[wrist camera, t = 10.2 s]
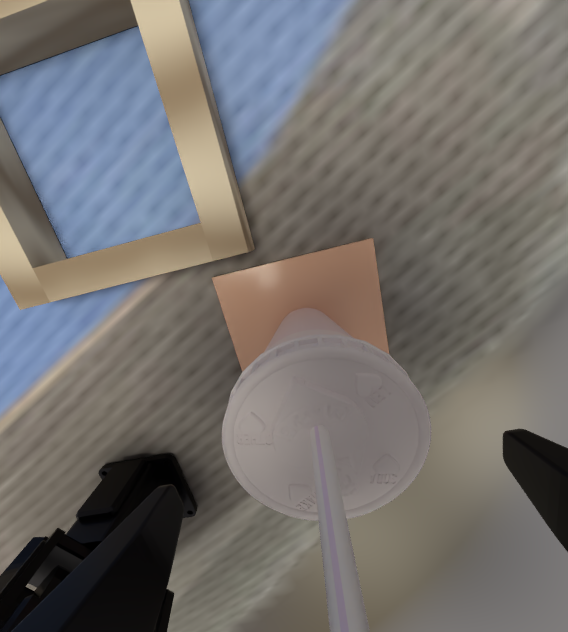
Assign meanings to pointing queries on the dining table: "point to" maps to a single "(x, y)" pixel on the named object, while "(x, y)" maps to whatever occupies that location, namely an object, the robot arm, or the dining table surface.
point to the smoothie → (326, 439)
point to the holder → (189, 134)
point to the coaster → (304, 296)
